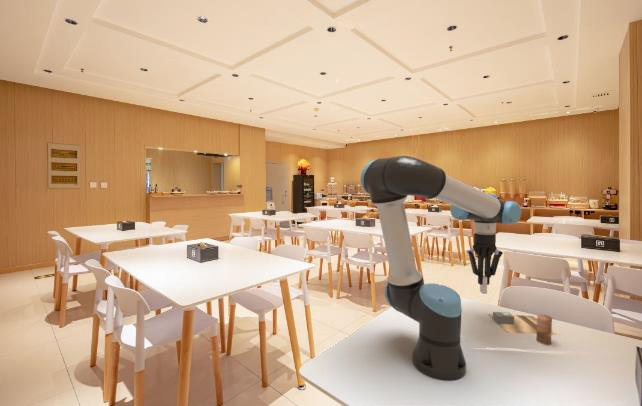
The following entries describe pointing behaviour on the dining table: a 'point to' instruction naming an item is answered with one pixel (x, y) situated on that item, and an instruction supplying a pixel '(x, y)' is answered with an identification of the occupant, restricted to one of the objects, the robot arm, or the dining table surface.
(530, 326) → the board
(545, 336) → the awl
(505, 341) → the dining table surface
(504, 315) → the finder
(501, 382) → the dining table surface
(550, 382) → the dining table surface
